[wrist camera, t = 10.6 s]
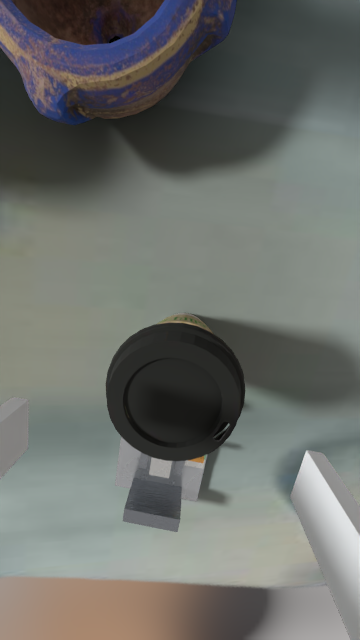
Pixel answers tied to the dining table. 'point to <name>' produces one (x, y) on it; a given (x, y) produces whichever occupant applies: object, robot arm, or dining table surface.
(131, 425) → the coffee cup
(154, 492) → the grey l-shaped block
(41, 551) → the dining table surface
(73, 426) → the dining table surface
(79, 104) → the bowl
